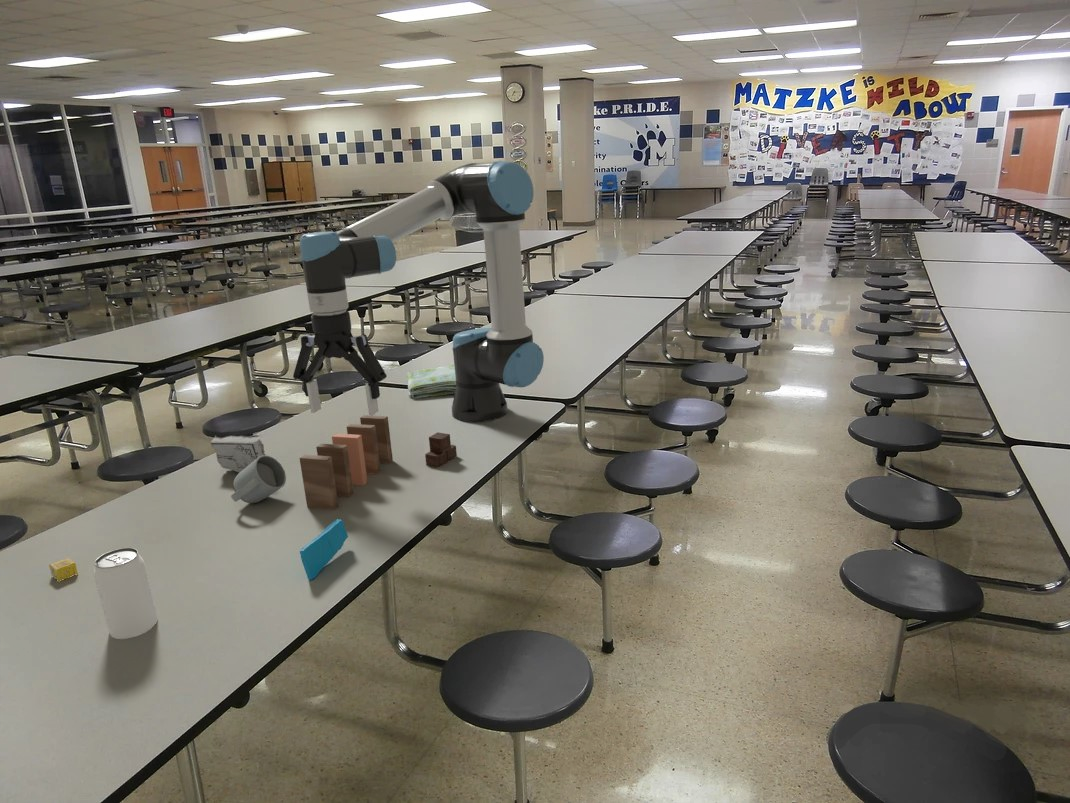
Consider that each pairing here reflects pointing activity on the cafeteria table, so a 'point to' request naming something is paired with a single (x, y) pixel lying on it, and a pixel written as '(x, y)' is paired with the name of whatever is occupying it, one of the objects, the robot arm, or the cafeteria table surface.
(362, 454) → the domino
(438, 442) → the stack of crates
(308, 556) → the sponge
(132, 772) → the cafeteria table surface
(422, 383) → the towel
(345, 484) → the domino
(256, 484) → the ceramic mug
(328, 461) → the domino
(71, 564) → the small yellow block
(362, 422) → the domino
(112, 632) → the can
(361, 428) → the domino
